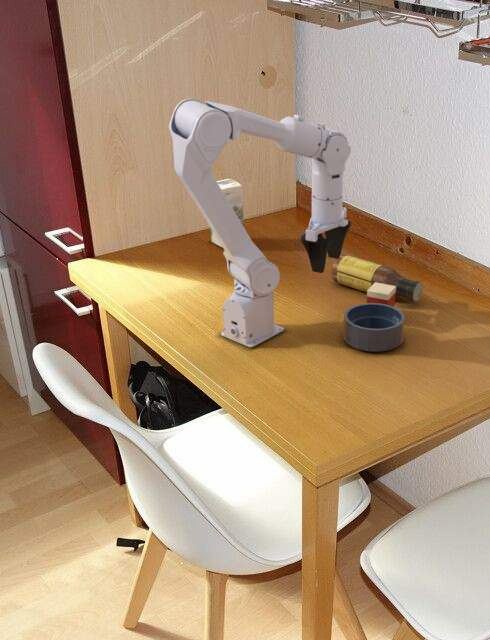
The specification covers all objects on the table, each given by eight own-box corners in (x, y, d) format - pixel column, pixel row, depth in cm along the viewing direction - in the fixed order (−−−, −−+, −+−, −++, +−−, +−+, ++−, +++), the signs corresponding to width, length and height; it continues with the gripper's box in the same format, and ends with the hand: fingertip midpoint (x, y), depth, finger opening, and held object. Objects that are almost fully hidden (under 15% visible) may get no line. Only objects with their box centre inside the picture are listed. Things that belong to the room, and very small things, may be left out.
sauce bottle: (343, 280, 180) (421, 308, 171) (327, 282, 175) (406, 311, 166) (349, 251, 178) (429, 277, 168) (333, 252, 173) (414, 280, 163)
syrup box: (231, 236, 199) (228, 177, 192) (245, 244, 196) (242, 183, 188) (210, 242, 196) (207, 181, 188) (224, 249, 192) (221, 188, 185)
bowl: (379, 360, 149) (381, 336, 146) (331, 341, 155) (331, 317, 152) (414, 338, 157) (416, 314, 154) (366, 321, 162) (368, 297, 160)
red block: (386, 322, 162) (388, 294, 159) (365, 318, 163) (367, 290, 160) (394, 313, 165) (396, 286, 162) (373, 309, 167) (375, 282, 164)
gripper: (331, 210, 145) (330, 282, 153) (362, 187, 157) (359, 254, 164) (295, 204, 148) (295, 275, 155) (327, 182, 159) (326, 249, 166)
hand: (326, 264), depth 160 cm, fingers open, 7 cm apart
